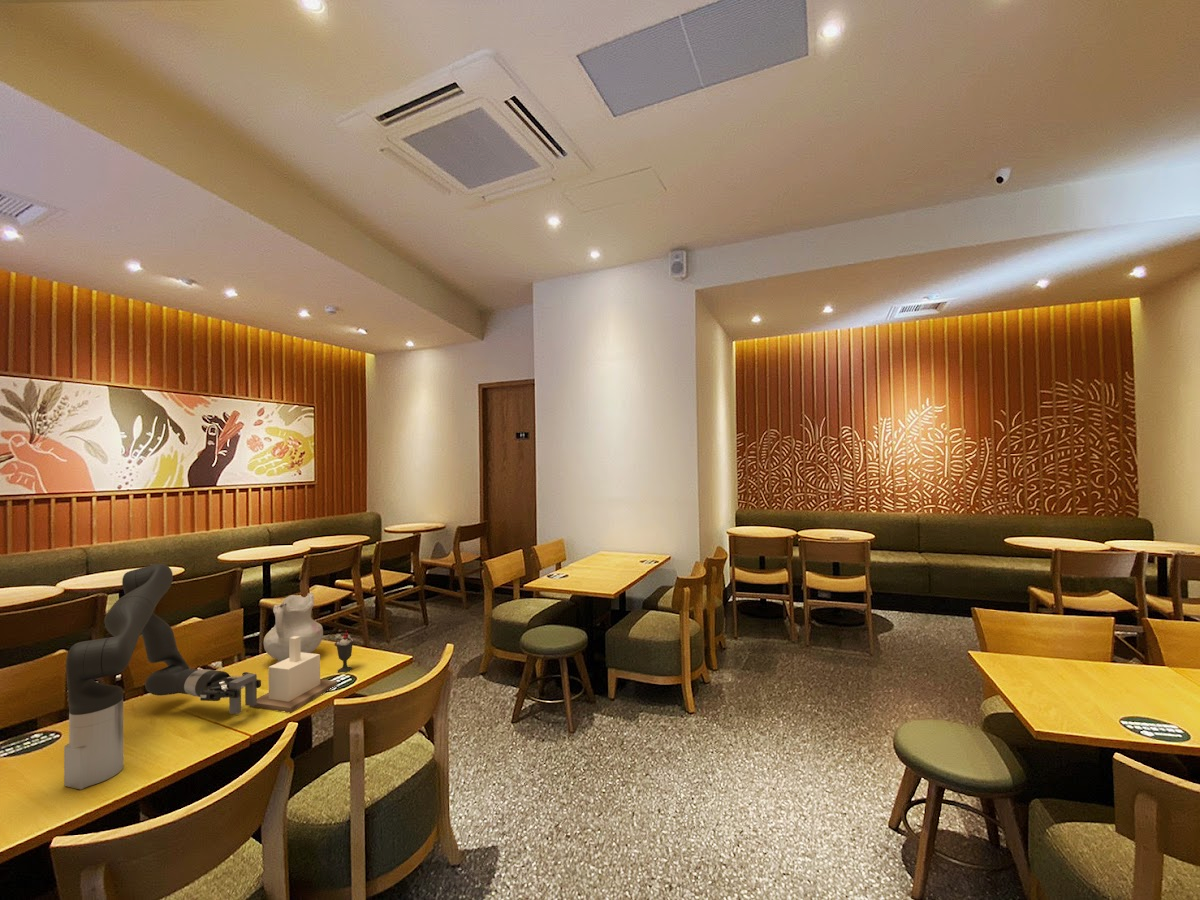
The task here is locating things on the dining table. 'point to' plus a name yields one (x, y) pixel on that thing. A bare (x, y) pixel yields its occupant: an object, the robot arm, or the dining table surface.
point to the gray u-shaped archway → (250, 692)
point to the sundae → (344, 650)
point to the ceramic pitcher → (293, 627)
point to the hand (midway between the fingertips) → (249, 688)
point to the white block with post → (294, 673)
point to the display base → (296, 702)
